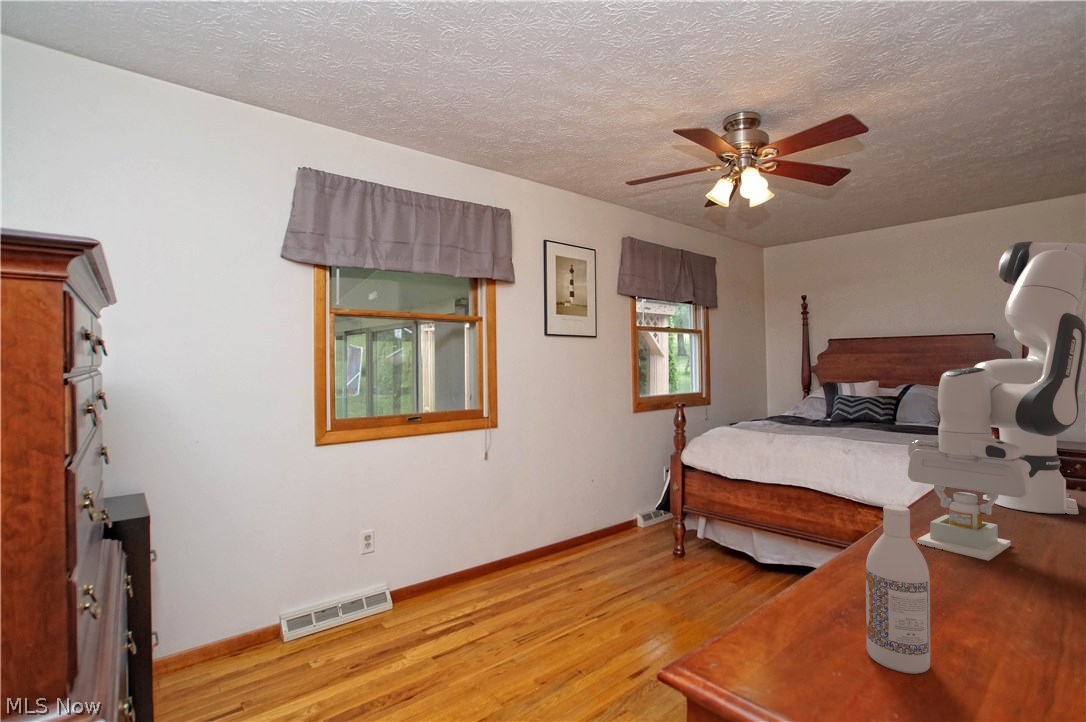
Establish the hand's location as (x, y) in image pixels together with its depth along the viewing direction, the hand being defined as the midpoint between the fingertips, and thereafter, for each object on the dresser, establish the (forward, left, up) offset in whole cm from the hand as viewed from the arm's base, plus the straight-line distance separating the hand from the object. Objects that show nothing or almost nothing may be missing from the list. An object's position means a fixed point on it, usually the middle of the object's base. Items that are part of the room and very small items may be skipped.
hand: (965, 510), depth 111 cm
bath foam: (+59, +10, -8) cm, 60 cm away
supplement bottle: (0, 0, -7) cm, 7 cm away
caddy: (0, 0, -7) cm, 7 cm away
